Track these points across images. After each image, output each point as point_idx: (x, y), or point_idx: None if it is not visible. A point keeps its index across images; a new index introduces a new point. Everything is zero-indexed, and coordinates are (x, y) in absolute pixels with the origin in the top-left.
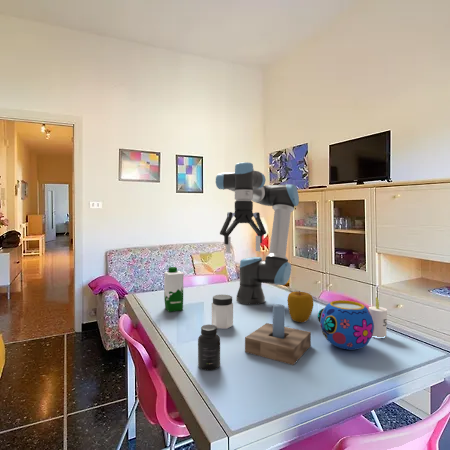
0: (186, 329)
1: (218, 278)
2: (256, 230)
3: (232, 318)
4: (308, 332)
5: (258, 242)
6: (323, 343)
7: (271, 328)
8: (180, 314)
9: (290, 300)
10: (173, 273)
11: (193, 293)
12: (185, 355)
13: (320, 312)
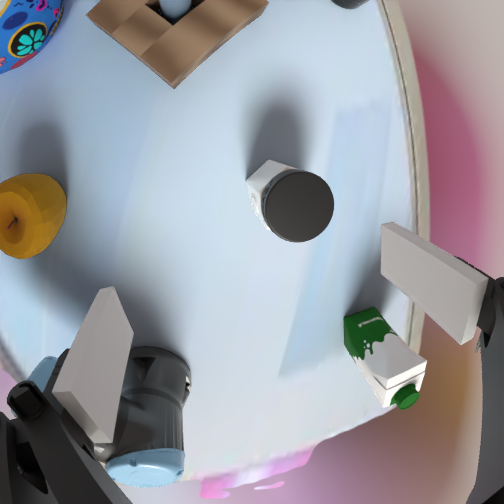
0: (365, 179)
1: (209, 493)
2: (87, 466)
3: (251, 181)
4: (92, 12)
5: (93, 339)
6: (61, 41)
7: (175, 39)
8: (355, 288)
9: (48, 203)
10: (410, 376)
11: (286, 425)
12: (379, 44)
13: (32, 28)
